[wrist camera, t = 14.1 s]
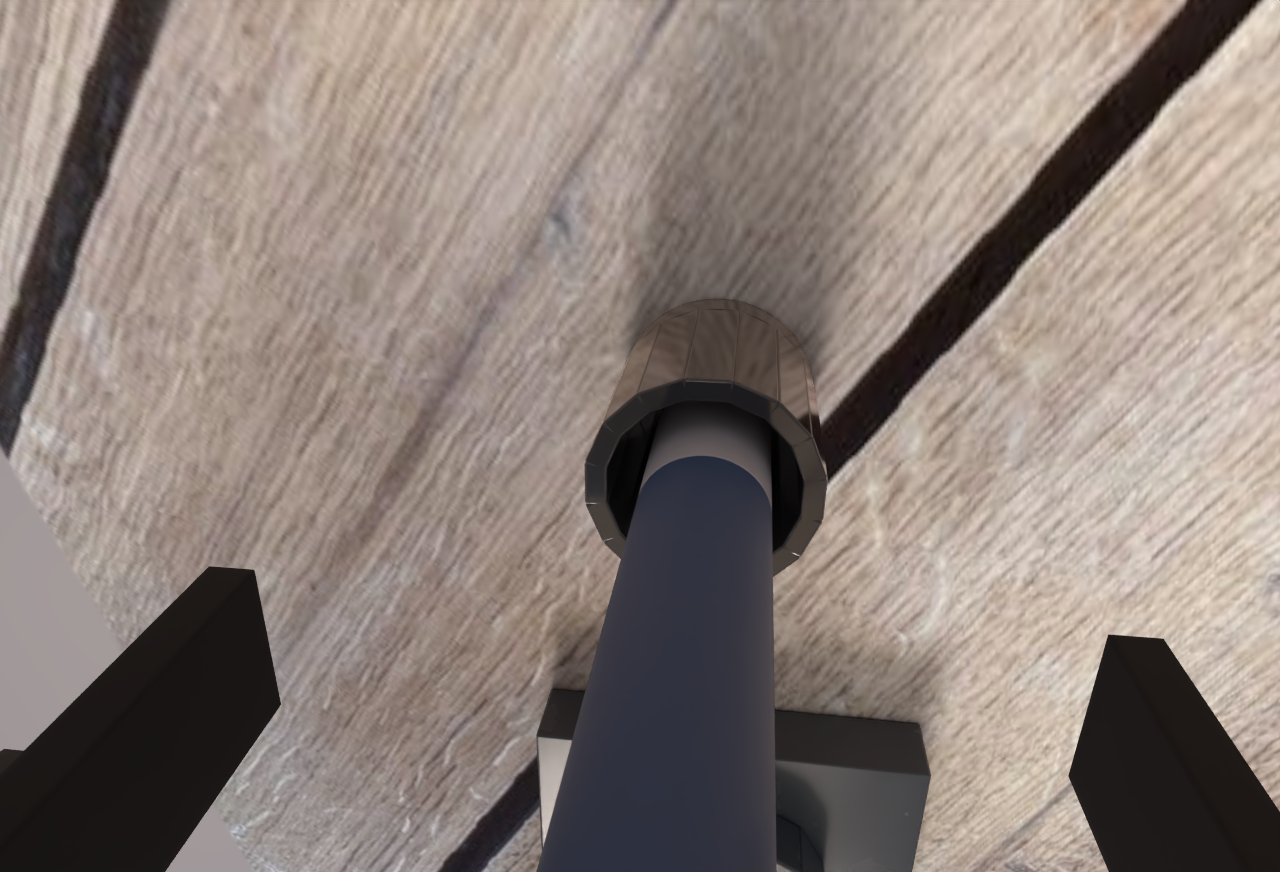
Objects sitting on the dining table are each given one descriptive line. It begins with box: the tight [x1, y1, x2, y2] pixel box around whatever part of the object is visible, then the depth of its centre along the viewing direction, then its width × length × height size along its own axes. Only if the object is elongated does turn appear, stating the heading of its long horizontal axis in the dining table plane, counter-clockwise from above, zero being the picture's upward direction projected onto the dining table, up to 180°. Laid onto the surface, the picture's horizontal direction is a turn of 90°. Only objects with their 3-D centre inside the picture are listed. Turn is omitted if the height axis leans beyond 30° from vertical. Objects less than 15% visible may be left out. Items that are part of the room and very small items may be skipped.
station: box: [536, 689, 931, 872], centre depth 30 cm, size 12×10×4 cm
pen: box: [537, 400, 777, 872], centre depth 16 cm, size 3×3×18 cm
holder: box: [585, 299, 828, 577], centre depth 22 cm, size 5×5×6 cm
